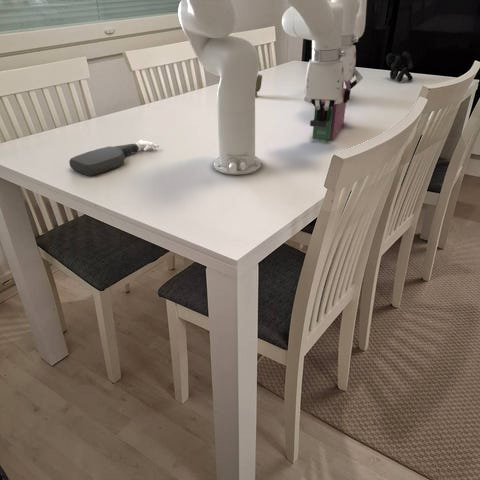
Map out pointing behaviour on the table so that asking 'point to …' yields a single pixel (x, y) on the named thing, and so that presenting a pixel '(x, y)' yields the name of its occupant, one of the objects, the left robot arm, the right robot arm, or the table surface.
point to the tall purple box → (337, 116)
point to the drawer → (322, 125)
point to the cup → (258, 83)
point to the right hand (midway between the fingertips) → (334, 100)
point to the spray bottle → (106, 157)
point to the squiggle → (399, 66)
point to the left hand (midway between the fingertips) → (322, 122)
